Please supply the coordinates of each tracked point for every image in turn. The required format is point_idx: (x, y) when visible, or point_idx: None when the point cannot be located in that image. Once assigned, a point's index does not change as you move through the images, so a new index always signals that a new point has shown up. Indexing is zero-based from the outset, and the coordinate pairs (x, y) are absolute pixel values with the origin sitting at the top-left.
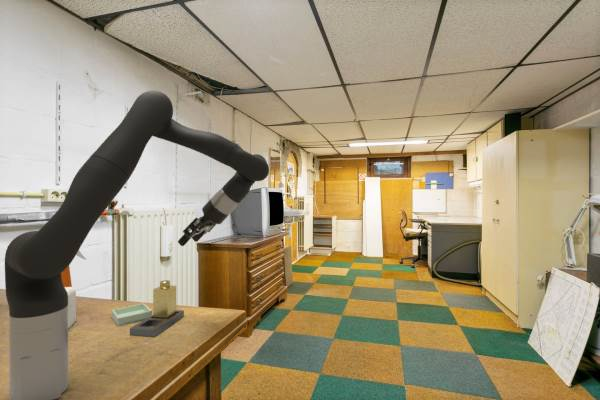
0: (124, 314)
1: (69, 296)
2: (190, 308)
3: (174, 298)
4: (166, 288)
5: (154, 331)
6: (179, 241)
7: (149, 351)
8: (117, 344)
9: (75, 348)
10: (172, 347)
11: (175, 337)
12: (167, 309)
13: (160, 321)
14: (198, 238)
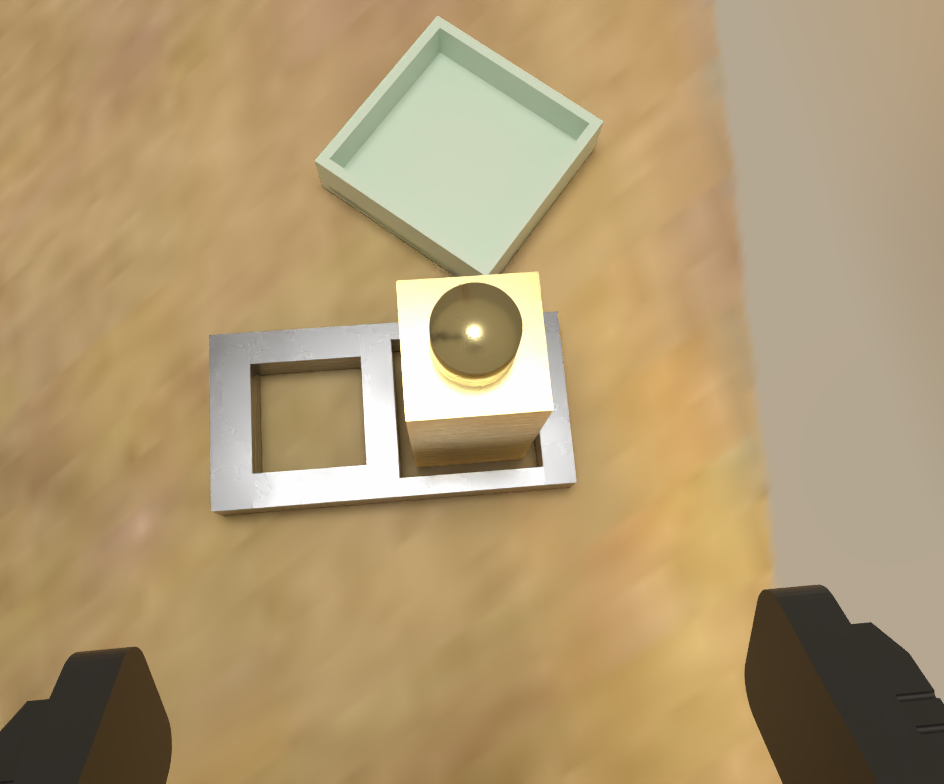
0: (472, 99)
1: None
2: (721, 439)
3: (513, 432)
4: (448, 378)
5: (214, 511)
6: (18, 734)
7: (43, 619)
8: (101, 369)
9: (28, 191)
10: None
11: (242, 653)
12: (412, 449)
13: (366, 440)
14: (792, 782)
